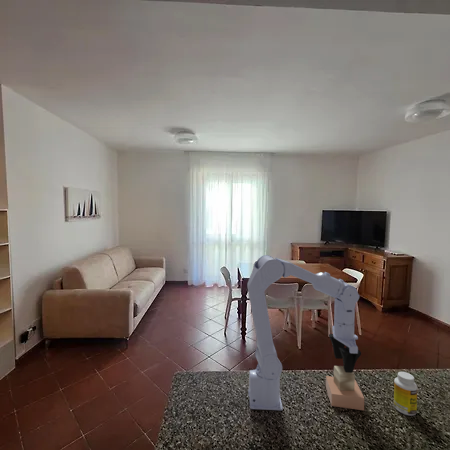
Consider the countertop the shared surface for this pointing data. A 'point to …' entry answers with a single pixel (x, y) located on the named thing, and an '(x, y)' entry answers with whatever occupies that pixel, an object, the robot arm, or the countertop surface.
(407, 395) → the supplement bottle
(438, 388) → the countertop surface
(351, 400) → the terracotta box
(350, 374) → the metal block
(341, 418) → the countertop surface
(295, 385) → the countertop surface
